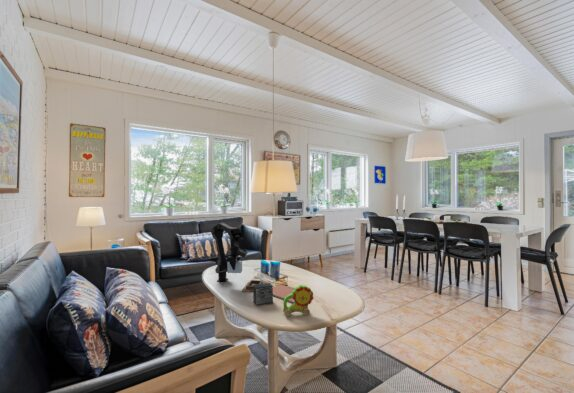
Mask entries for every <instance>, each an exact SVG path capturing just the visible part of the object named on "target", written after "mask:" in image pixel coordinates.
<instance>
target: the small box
mask: <svg viewBox="0 0 574 393" xmlns="http://www.w3.org/2000/svg"><path fill="white" fill-rule="evenodd" d="M273 287H274V286H273V285H272V283H270V282H267V283H265V284H257V285H253V292H252V293H253V294H252V295H253V297H252V298H253V304H254V306H264V305H270V304H273V303H274V296H273Z"/></svg>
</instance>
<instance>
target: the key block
mask: <svg viewBox="0 0 574 393" xmlns="http://www.w3.org/2000/svg"><path fill="white" fill-rule="evenodd" d="M227 270H228V272H227V274H241V273H242V272H243V261H241V260H238V261H237V262H236V265H235V270H233V269H232V267H231V265H230V263H229V262H228V263H227Z"/></svg>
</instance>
